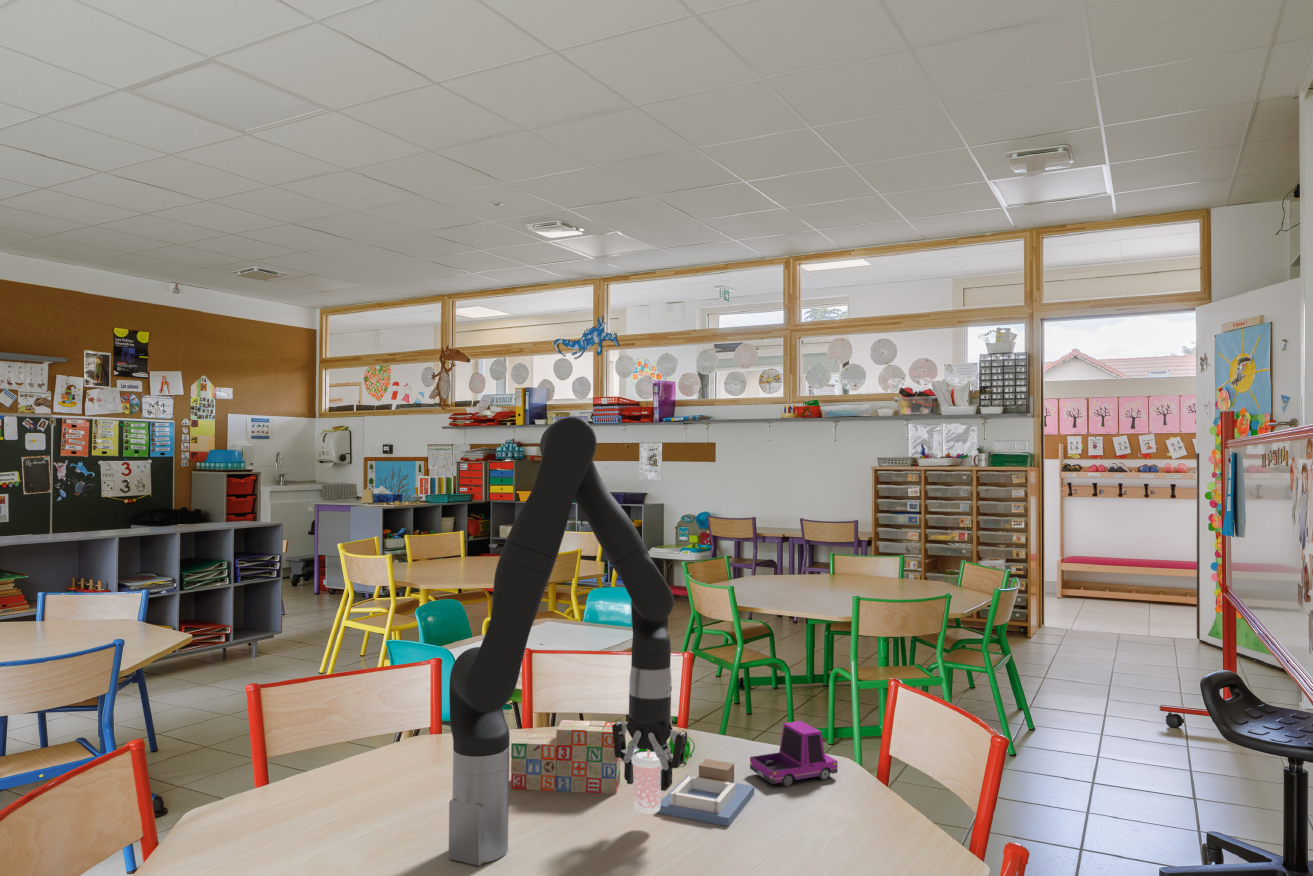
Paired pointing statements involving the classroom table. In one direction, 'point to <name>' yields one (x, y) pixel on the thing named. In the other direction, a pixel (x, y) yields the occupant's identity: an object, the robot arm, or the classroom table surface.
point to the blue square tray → (708, 795)
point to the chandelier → (671, 744)
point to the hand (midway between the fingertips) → (648, 785)
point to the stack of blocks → (567, 759)
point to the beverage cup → (647, 782)
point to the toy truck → (795, 757)
